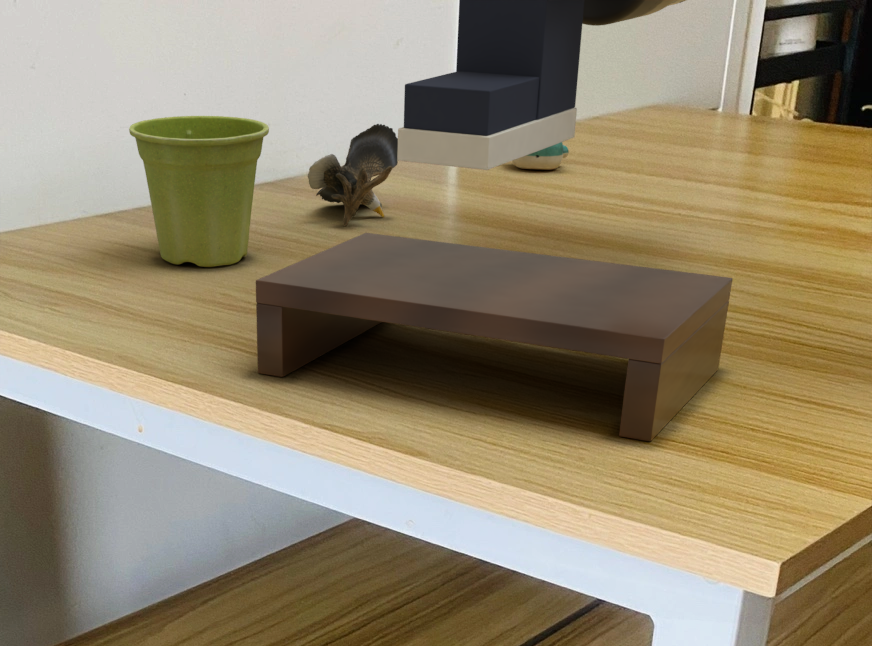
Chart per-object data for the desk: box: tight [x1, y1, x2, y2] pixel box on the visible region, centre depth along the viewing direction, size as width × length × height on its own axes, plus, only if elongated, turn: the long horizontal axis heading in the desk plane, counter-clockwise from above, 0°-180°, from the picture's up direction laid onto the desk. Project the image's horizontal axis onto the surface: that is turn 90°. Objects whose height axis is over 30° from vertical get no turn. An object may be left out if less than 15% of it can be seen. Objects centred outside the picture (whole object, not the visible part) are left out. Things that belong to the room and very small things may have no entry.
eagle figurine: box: [307, 123, 399, 227], centre depth 108 cm, size 8×7×9 cm
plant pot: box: [128, 115, 270, 268], centre depth 95 cm, size 9×9×9 cm
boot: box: [397, 0, 584, 171], centre depth 69 cm, size 11×5×10 cm, turn 149°
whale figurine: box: [512, 142, 570, 170], centre depth 128 cm, size 6×7×4 cm
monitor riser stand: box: [255, 232, 733, 442], centre depth 74 cm, size 22×13×5 cm, turn 62°
